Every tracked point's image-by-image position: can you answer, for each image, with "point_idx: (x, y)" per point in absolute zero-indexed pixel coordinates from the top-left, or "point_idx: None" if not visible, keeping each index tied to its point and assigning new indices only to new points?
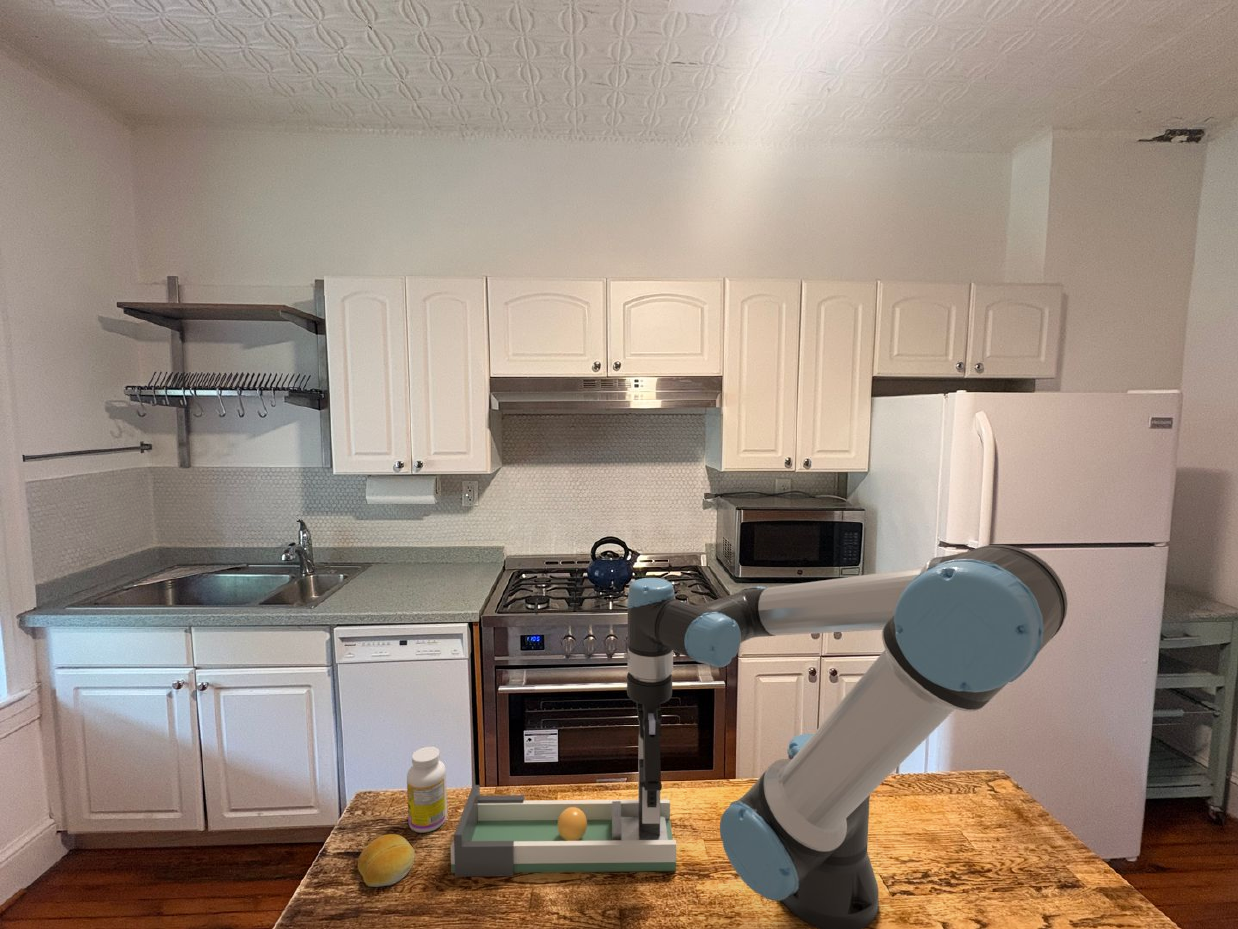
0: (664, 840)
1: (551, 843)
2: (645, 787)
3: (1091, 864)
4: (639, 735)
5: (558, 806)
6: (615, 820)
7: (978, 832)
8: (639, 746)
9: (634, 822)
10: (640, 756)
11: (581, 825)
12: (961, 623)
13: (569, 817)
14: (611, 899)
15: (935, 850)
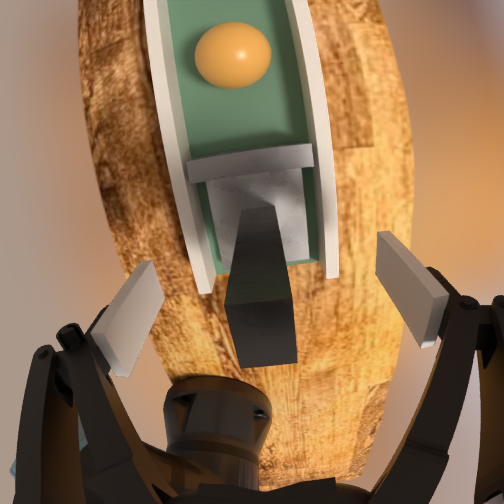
0: (204, 273)
1: (153, 34)
2: (33, 355)
3: None
4: (435, 300)
5: (293, 14)
6: (235, 161)
7: (305, 471)
8: (412, 274)
9: (285, 195)
10: (396, 258)
11: (209, 78)
12: None
13: (207, 45)
14: (127, 169)
15: (284, 459)
